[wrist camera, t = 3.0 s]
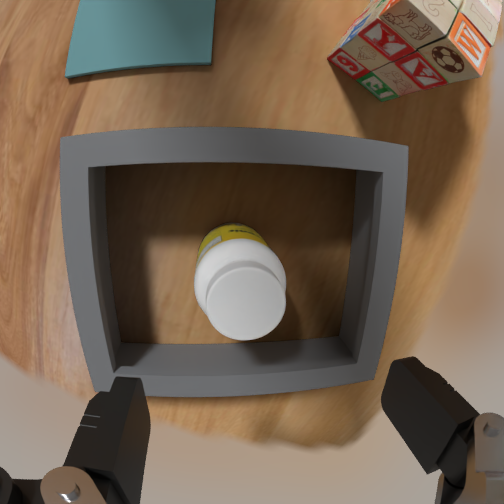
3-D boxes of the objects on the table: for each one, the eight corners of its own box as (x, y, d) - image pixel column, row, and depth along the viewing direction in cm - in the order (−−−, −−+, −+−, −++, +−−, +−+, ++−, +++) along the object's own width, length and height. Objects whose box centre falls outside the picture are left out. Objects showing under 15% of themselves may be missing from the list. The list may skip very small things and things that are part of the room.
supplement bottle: (280, 250, 25) (321, 298, 15) (236, 299, 25) (251, 370, 16) (228, 206, 23) (240, 230, 14) (183, 259, 24) (168, 315, 15)
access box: (113, 351, 25) (95, 391, 19) (94, 143, 21) (60, 137, 15) (346, 343, 28) (373, 379, 22) (367, 149, 24) (408, 146, 18)
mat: (67, 78, 19) (64, 76, 18) (91, -28, 16) (90, -31, 15) (210, 64, 20) (210, 62, 20) (219, -42, 17) (220, -46, 17)
